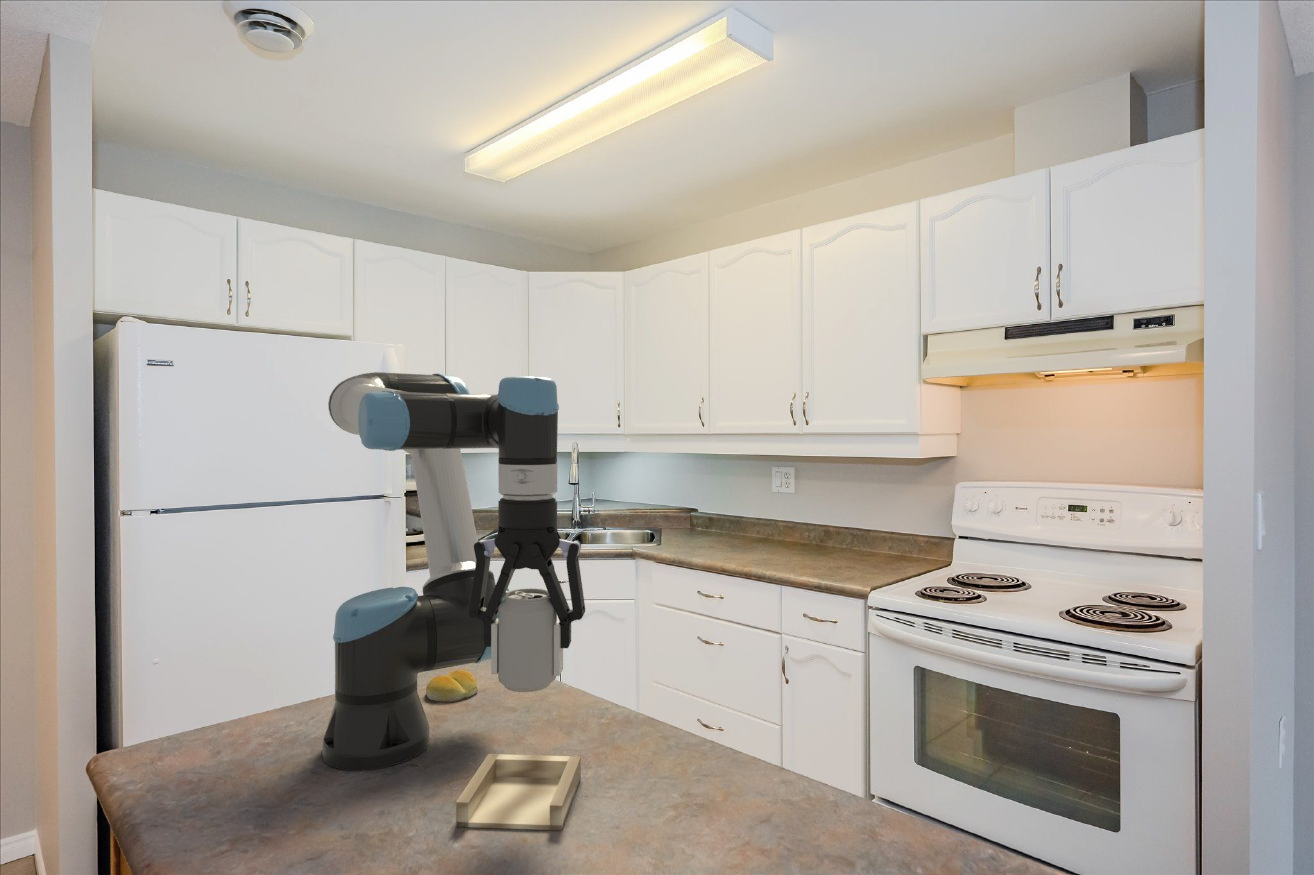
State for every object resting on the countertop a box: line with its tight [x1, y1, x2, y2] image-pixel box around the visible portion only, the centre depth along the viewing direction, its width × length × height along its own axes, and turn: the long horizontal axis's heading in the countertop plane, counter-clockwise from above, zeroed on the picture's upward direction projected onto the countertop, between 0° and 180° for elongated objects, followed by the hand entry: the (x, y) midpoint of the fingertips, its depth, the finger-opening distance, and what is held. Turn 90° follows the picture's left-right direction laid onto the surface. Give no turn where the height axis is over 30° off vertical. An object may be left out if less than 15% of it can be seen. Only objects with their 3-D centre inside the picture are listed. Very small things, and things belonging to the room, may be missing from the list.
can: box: [497, 587, 558, 693], centre depth 93 cm, size 8×8×12 cm
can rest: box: [455, 753, 582, 831], centre depth 93 cm, size 13×13×3 cm
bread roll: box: [425, 669, 479, 703], centre depth 131 cm, size 8×9×4 cm
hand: (527, 671), depth 93 cm, fingers closed on can, 7 cm apart
